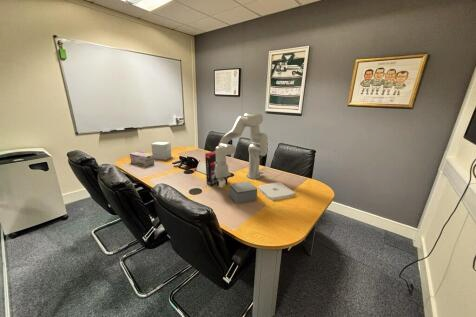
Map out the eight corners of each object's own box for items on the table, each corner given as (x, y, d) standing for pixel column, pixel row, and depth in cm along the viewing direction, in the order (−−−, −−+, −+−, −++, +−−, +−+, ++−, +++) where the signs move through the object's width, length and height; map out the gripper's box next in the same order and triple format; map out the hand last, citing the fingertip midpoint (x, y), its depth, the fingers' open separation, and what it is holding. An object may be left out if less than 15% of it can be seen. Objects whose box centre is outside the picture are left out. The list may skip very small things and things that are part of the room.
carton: (247, 191, 153) (248, 182, 150) (256, 199, 140) (257, 189, 138) (229, 195, 146) (229, 185, 144) (236, 204, 134) (236, 193, 132)
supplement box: (171, 156, 237) (170, 142, 231) (165, 160, 224) (164, 144, 219) (159, 155, 240) (157, 141, 235) (152, 158, 228) (150, 143, 223)
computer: (256, 188, 159) (256, 185, 158) (279, 184, 167) (279, 181, 166) (270, 201, 140) (270, 198, 139) (295, 196, 148) (296, 193, 147)
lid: (248, 182, 150) (248, 181, 150) (257, 189, 138) (257, 188, 138) (229, 184, 144) (230, 183, 144) (237, 192, 132) (237, 191, 132)
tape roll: (224, 183, 154) (223, 177, 152) (226, 186, 148) (226, 180, 147) (216, 184, 151) (216, 179, 150) (219, 187, 146) (219, 182, 145)
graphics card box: (210, 186, 160) (210, 155, 152) (205, 184, 164) (204, 153, 156) (225, 180, 172) (225, 151, 164) (220, 178, 176) (220, 149, 168)
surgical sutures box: (154, 164, 210) (153, 154, 206) (145, 167, 201) (144, 157, 198) (140, 160, 222) (138, 151, 218) (131, 162, 213) (129, 153, 210)
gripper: (211, 165, 137) (212, 188, 143) (233, 162, 144) (233, 184, 150) (208, 162, 144) (209, 184, 150) (230, 159, 150) (230, 180, 156)
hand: (221, 184), depth 150 cm, fingers closed on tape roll, 6 cm apart
